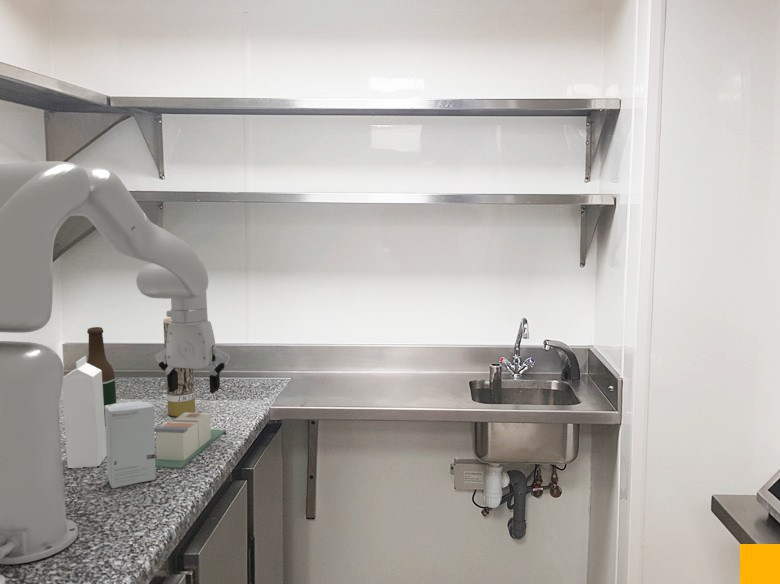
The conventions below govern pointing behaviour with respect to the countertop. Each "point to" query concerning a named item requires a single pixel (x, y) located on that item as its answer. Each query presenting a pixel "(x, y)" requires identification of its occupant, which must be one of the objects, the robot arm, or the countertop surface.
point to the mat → (179, 463)
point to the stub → (199, 425)
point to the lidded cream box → (176, 440)
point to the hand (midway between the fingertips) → (194, 390)
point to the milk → (84, 416)
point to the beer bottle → (101, 364)
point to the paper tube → (180, 387)
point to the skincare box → (130, 443)
